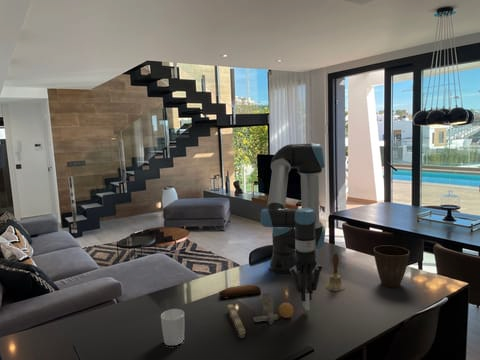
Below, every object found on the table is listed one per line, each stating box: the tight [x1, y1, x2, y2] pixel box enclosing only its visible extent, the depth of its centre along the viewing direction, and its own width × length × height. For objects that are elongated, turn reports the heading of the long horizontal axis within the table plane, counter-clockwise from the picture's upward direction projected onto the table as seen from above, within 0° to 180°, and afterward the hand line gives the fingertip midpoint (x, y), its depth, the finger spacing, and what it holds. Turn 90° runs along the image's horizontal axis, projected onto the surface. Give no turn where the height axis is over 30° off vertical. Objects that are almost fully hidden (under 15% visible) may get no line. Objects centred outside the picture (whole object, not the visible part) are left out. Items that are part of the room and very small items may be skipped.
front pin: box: [253, 313, 279, 322], centre depth 136 cm, size 2×2×9 cm
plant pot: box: [373, 245, 411, 289], centre depth 163 cm, size 15×15×16 cm
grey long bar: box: [227, 304, 247, 335], centre depth 134 cm, size 20×2×3 cm, turn 14°
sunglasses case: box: [218, 284, 262, 299], centre depth 160 cm, size 18×7×7 cm
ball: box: [278, 302, 294, 319], centre depth 138 cm, size 6×6×6 cm
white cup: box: [160, 308, 185, 346], centre depth 124 cm, size 8×8×10 cm
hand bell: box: [325, 252, 346, 292], centre depth 162 cm, size 8×8×16 cm
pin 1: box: [262, 291, 269, 316], centre depth 139 cm, size 2×2×9 cm
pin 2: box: [267, 298, 275, 323], centre depth 134 cm, size 2×2×9 cm
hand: (306, 308), depth 140 cm, fingers closed
